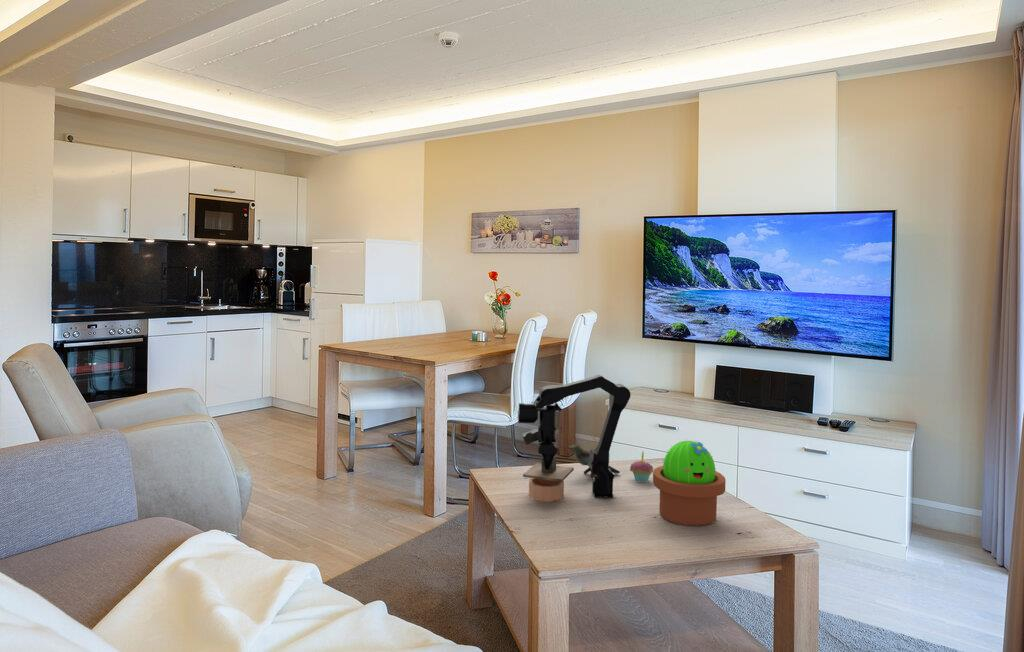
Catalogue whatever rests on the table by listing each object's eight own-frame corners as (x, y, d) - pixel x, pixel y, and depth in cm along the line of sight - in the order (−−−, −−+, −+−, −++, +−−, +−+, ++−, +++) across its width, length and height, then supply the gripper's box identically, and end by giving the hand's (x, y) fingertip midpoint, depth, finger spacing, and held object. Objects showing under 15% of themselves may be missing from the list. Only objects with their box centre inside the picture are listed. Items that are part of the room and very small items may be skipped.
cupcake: (654, 484, 232) (655, 452, 231) (631, 483, 232) (632, 452, 231) (650, 476, 240) (651, 446, 239) (627, 476, 240) (628, 445, 239)
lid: (573, 469, 222) (573, 453, 221) (562, 481, 209) (562, 464, 208) (536, 465, 227) (536, 449, 226) (522, 476, 214) (522, 460, 213)
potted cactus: (643, 504, 211) (645, 431, 209) (706, 503, 213) (709, 430, 211) (665, 530, 189) (667, 449, 187) (735, 529, 191) (738, 448, 189)
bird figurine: (615, 468, 248) (591, 426, 245) (624, 476, 238) (599, 433, 235) (587, 486, 247) (562, 445, 243) (594, 495, 237) (568, 452, 234)
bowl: (562, 489, 224) (563, 476, 224) (564, 501, 212) (564, 487, 212) (529, 488, 225) (529, 475, 224) (528, 500, 213) (528, 486, 212)
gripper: (524, 416, 226) (524, 458, 227) (523, 429, 207) (523, 475, 209) (555, 417, 226) (555, 459, 227) (557, 429, 207) (556, 475, 208)
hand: (546, 467), depth 218 cm, fingers closed on lid, 5 cm apart
